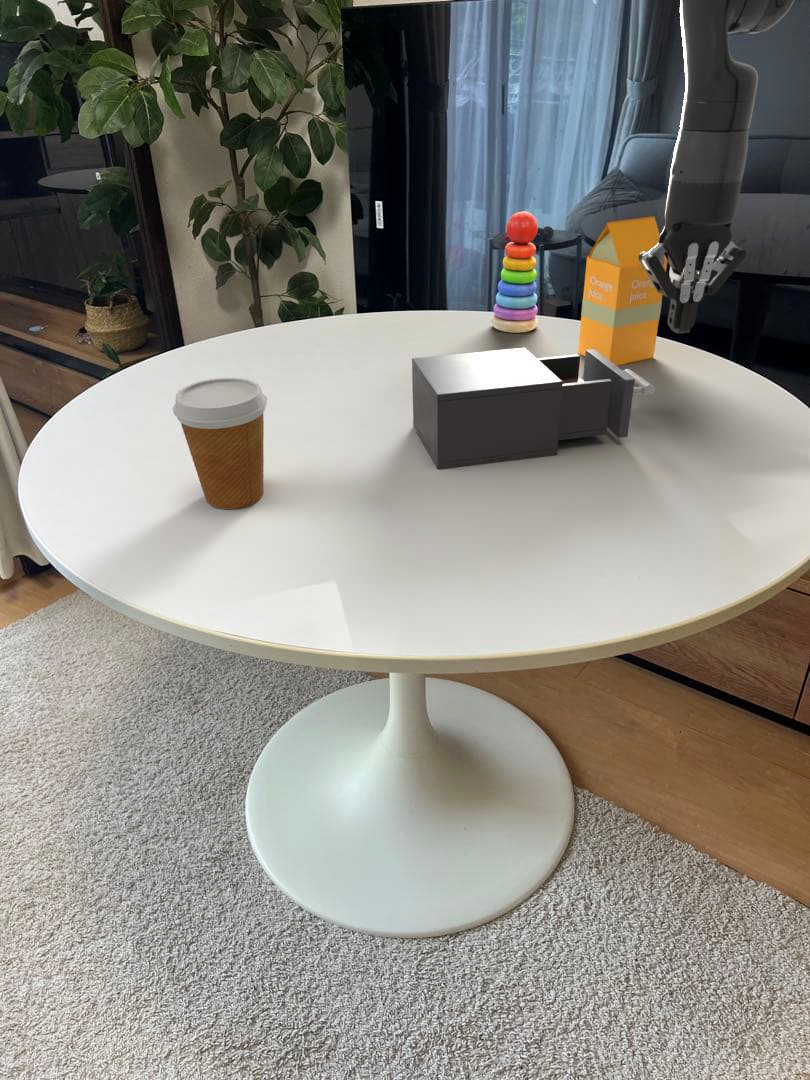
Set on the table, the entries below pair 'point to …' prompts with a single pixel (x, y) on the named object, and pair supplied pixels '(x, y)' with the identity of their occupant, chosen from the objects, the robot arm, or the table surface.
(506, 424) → the cabinet
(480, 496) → the table surface
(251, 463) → the disposable coffee cup
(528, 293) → the stacking toy
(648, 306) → the orange juice
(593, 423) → the drawer
